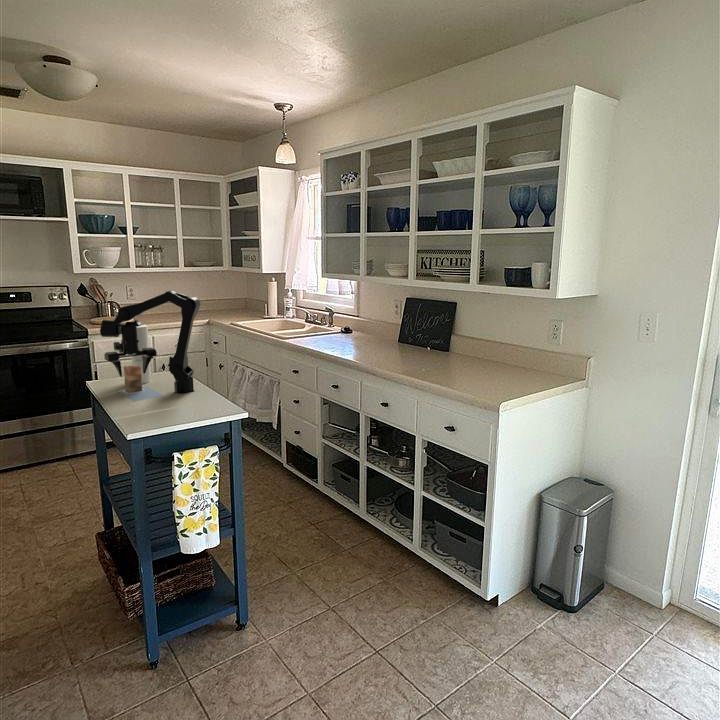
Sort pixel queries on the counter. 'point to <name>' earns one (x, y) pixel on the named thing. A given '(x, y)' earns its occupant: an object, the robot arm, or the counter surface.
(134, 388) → the walnut block
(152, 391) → the board
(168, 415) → the counter surface
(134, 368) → the terracotta block
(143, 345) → the cylindrical container
